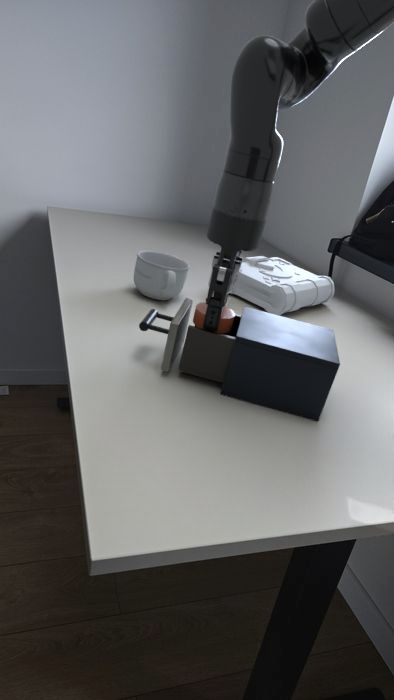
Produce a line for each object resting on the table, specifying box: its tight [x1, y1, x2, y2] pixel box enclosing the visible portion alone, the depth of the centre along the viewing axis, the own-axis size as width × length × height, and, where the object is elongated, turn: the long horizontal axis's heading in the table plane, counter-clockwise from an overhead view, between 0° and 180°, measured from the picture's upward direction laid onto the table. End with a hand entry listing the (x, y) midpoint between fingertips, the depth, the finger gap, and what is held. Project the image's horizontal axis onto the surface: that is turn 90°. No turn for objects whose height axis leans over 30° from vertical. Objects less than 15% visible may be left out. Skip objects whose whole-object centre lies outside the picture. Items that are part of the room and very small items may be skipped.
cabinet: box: [220, 306, 341, 422], centre depth 75 cm, size 15×13×10 cm
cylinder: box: [192, 301, 236, 333], centre depth 74 cm, size 6×6×2 cm
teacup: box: [133, 250, 191, 301], centre depth 100 cm, size 14×11×8 cm
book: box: [230, 255, 336, 316], centre depth 118 cm, size 19×28×8 cm
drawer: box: [138, 297, 242, 384], centre depth 76 cm, size 18×11×8 cm, turn 80°
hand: (213, 320), depth 74 cm, fingers closed on cylinder, 6 cm apart
